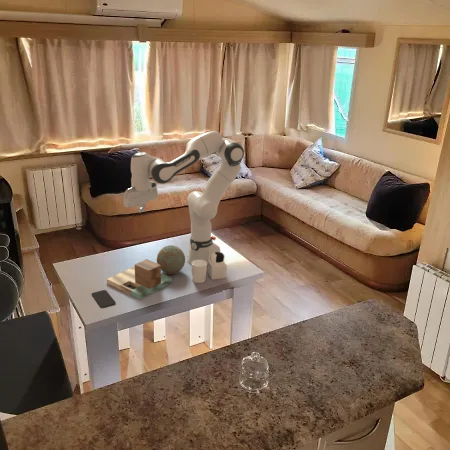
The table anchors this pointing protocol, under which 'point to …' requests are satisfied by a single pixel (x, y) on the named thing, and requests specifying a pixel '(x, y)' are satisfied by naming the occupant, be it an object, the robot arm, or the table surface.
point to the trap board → (128, 285)
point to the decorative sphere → (171, 259)
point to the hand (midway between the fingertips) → (141, 211)
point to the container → (217, 266)
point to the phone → (103, 298)
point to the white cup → (199, 271)
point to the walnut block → (147, 273)
